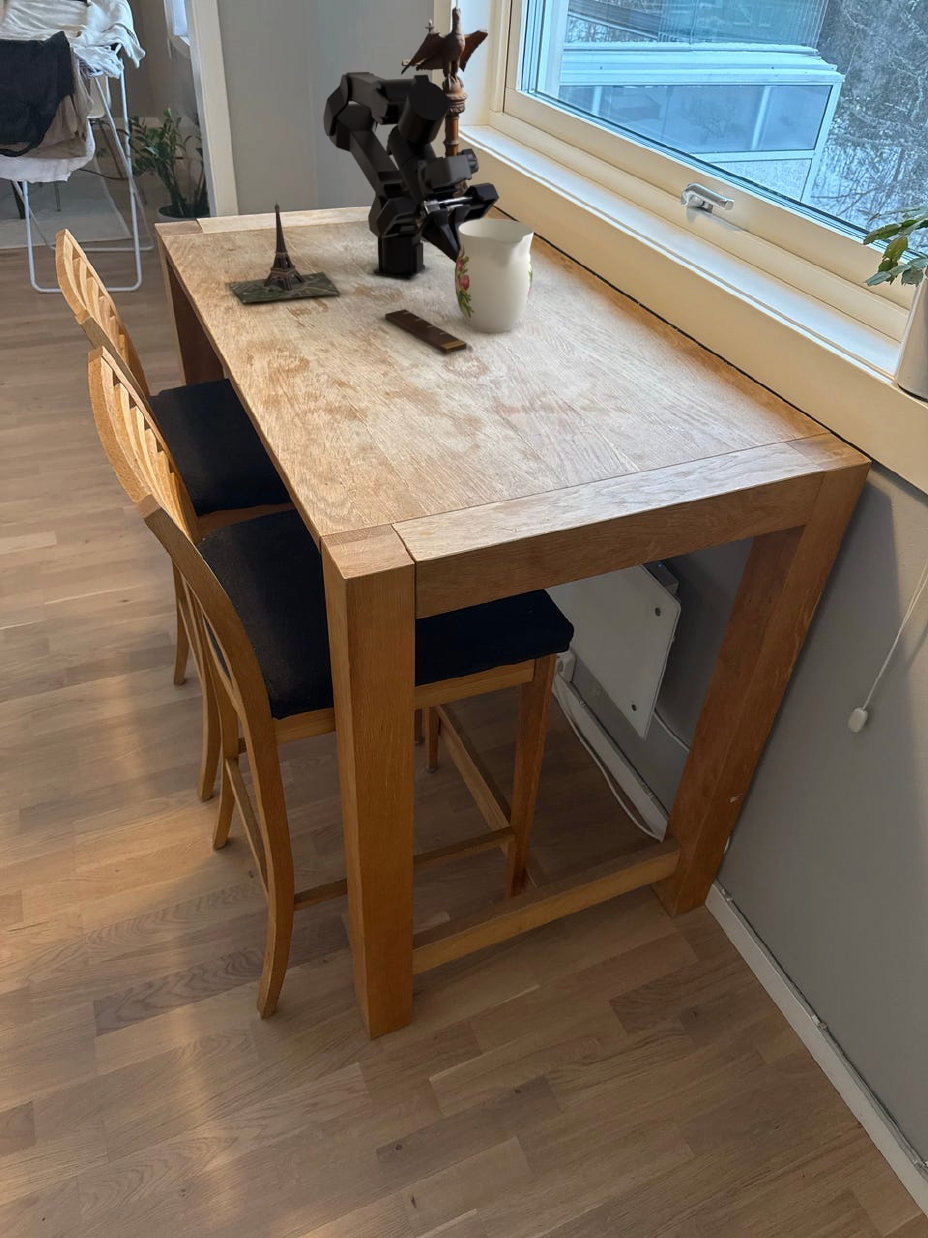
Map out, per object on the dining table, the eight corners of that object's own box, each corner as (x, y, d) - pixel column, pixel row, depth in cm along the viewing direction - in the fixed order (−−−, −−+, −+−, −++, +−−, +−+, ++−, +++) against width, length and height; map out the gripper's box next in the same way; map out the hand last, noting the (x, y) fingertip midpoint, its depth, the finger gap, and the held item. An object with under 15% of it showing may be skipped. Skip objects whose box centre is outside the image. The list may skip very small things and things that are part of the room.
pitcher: (506, 296, 139) (512, 202, 130) (545, 342, 125) (554, 240, 117) (437, 301, 136) (439, 205, 127) (470, 348, 123) (473, 245, 114)
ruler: (385, 319, 130) (384, 312, 130) (404, 314, 132) (404, 308, 132) (445, 354, 121) (446, 347, 121) (466, 348, 123) (466, 342, 123)
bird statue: (390, 221, 167) (384, -6, 145) (453, 215, 172) (458, -7, 149) (424, 248, 156) (424, 5, 134) (491, 240, 160) (502, 4, 138)
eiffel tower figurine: (242, 307, 132) (230, 211, 124) (229, 284, 140) (216, 192, 131) (340, 296, 137) (335, 203, 128) (322, 274, 144) (316, 185, 136)
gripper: (384, 135, 119) (432, 243, 119) (494, 121, 127) (538, 222, 128) (356, 185, 128) (400, 285, 129) (460, 169, 137) (501, 262, 138)
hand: (461, 263), depth 130 cm, fingers closed
